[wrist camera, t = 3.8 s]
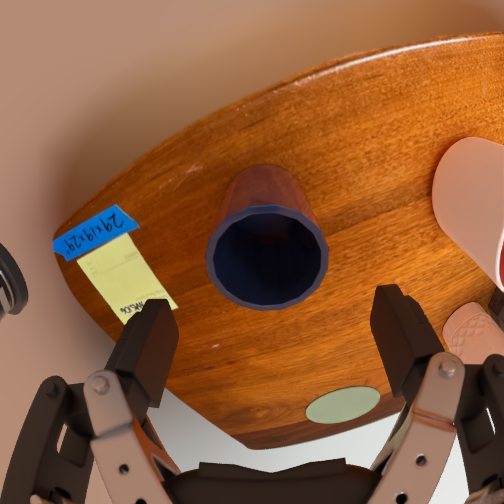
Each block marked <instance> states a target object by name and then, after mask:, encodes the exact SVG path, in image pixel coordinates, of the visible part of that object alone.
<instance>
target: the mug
mask: <svg viewBox="0 0 504 504" xmlns="http://www.w3.org/2000/svg"><path fill="white" fill-rule="evenodd" d="M488 307H489V310H490V313H491V316H492V319H493V320H494V321H495V323H496V324H497V325H498V326H499V327H500V328H501V330H502V331H503V332H504V292H503V291H501V290H500V289H499V287H498V286H497V288H496V290H495V292H494V295H493V297H492V299H491V301H490V303H489V305H488Z"/></svg>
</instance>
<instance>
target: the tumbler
mask: <svg viewBox="0 0 504 504" xmlns="http://www.w3.org/2000/svg"><path fill="white" fill-rule="evenodd" d="M328 260H329V247H328V245H327V243H326V240H325V238H324V236H323V233H322V231H321V229H320V226H319V224H318V222H317V220H316V218H315V215H314V213H313V211H312V209H311V207H310V204H309V202H308V200H307V198H306V196H305V194H304V192H303V190H302V187H301V185H300V183H299V181H298V180H297V179H296V178H295V177H294V176H293V175H292V174H291V173H290V172H289V171H287V170H286V169H284V168H282V167H279V166H276V165H271V164H259V165H254V166H251V167H249V168H246V169H245V170H243V171H242V172H240V173H239V174H238V175H237V176H236V177H235V178H234V179H233V181H232V182H231V184H230V185H229V187H228V189H227V192H226V195H225V197H224V200H223V202H222V205H221V208H220V210H219V213H218V216H217V219H216V221H215V224H214V227H213V229H212V232H211V235H210V238H209V242H208V246H207V250H206V254H205V261H206V266H207V271H208V275H209V278H210V280H211V281H212V282H213V284H214V285H215V287H216V288H217V289H218V291H219V292H220V293H221V294H222V295H223V296H225V297H226V298H228V299H229V300H231V301H232V302H234V303H236V304H237V305H240V306H242V307H246V308H250V309H254V310H258V311H268V310H282V309H285V308H288V307H290V306H293V305H295V304H298V303H300V302H302V301H304V300H305V299H306V298H307V297H308V296H310V295H311V294H312V293H313V292H314V291H315V290H317V289H318V287H319V286H320V284H321V282H322V280H323V278H324V276H325V274H326V272H327V270H328Z"/></svg>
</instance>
